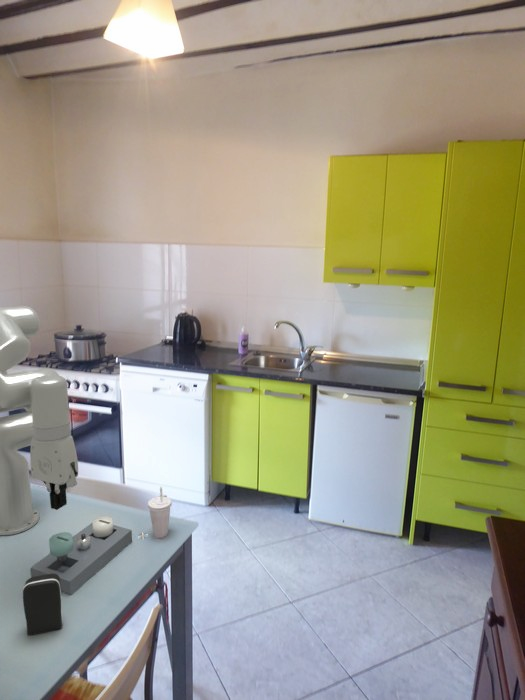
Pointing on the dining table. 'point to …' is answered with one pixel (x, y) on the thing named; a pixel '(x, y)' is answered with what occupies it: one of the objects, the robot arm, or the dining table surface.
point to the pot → (83, 542)
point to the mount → (84, 558)
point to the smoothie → (160, 514)
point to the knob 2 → (102, 527)
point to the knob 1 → (61, 545)
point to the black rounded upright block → (43, 603)
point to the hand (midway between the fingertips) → (59, 506)
